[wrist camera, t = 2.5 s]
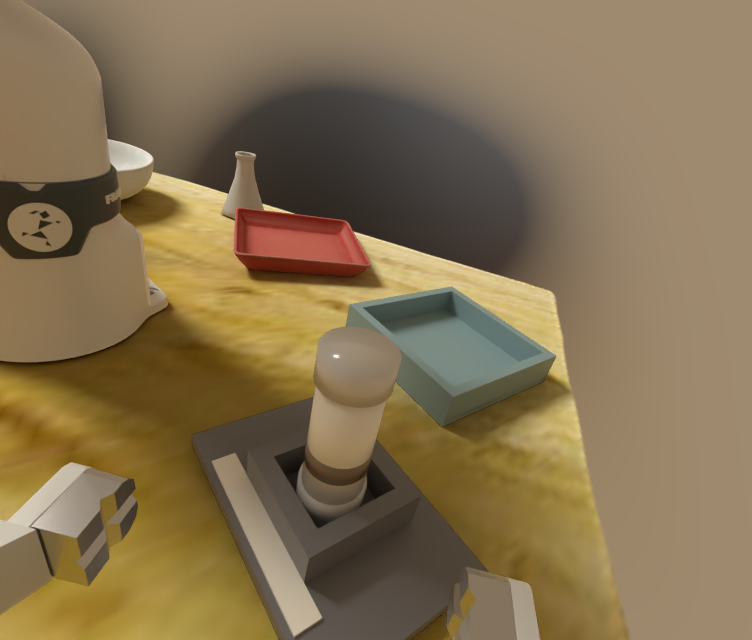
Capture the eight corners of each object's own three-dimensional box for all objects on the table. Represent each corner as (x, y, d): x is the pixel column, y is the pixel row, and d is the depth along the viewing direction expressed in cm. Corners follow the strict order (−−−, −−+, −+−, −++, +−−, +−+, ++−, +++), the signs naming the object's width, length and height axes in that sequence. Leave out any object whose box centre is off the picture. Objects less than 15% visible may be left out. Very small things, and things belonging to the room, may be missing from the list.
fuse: (283, 485, 28) (302, 335, 22) (339, 461, 31) (369, 321, 25) (316, 541, 26) (347, 385, 20) (374, 509, 28) (418, 364, 22)
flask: (271, 214, 76) (275, 155, 71) (255, 225, 70) (259, 162, 65) (232, 204, 76) (233, 145, 72) (212, 215, 70) (213, 151, 65)
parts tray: (344, 331, 48) (349, 304, 46) (444, 309, 57) (451, 286, 56) (441, 427, 38) (453, 396, 36) (543, 381, 47) (556, 355, 45)
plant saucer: (344, 237, 75) (347, 218, 73) (368, 286, 60) (373, 264, 58) (234, 226, 69) (235, 206, 67) (232, 277, 54) (233, 253, 53)
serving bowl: (49, 230, 55) (39, 175, 51) (-40, 183, 62) (-55, 132, 58) (184, 205, 72) (183, 163, 68) (102, 170, 78) (97, 130, 75)
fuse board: (192, 444, 31) (190, 408, 29) (333, 399, 38) (339, 367, 36) (313, 718, 20) (324, 686, 18) (483, 580, 27) (502, 547, 25)
